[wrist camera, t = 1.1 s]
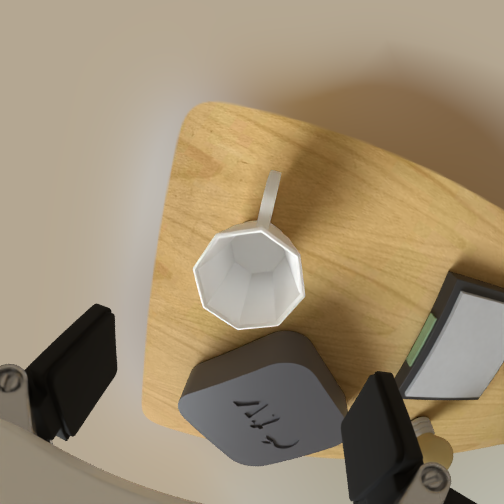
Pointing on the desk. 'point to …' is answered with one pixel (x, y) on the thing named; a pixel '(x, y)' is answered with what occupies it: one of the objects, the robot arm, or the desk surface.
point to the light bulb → (432, 443)
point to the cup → (251, 270)
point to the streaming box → (266, 401)
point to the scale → (457, 343)
